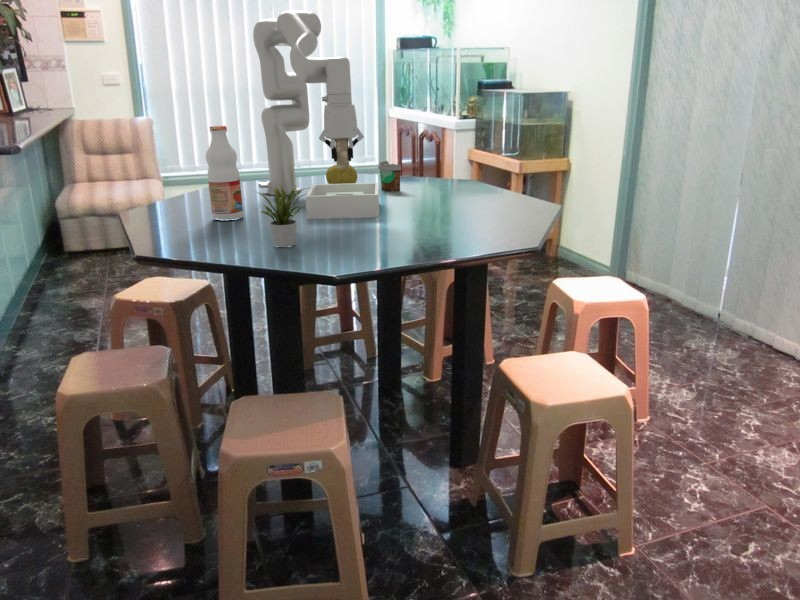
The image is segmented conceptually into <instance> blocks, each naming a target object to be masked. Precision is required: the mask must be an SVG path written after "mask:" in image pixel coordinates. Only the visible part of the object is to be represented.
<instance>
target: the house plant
mask: <svg viewBox="0 0 800 600" xmlns="http://www.w3.org/2000/svg"><path fill="white" fill-rule="evenodd" d="M279 185H280V184H279ZM276 187H277V186H276ZM297 187H298V186H296V187H295V188H293V189H292V190H291V192H290V194H289V195H286V192H285V191H284V190H283V188H282V186H281V185H280V189H281V194H280V191H279V189H278V187H277V188H274V192H275V195H274V197H275V198H274V199H275V201H274V202H275V204H276V205H275V206H274V205H273V204H272V202H271V201H270V200H269V198H268V197H266V196H265V195H264V194H262V193H260V192H258V191H256V193H257V194H259V195H260V196H261V197H263V198H264V200H266V202H267V203H268V204H269V206H270V207H271V208H272V209H271V208H270V207H269V206H267V205H263V207H264V208H265V210H266V211H265V210H264V211H263V210H262V211H261V213H262V214H264V215H267V216H269V217H270V218H271V219H272V220H271V221H270V222H269V228H270V231H271V234H272V238H273V243H274V246H275V245H276V246H279V247H288V246H293V245H295V246H296V240H297V238H296V237H297V228H298V227H297V226H298V220H295V219H293V218H294V217H295V215H296V214H297V213H298V212H299V211H300V210H301V209H304V210H306V209H305V208H306V204H305V205H302V206H301V207H300V206H296V207H294V205H295V204H296V202H297V201H298V200H299V199H300V198H301V197H303V196H306V195H307V193H306V194H301V195H299V196H298V194H300V193H301V192H302V191H304V190H308V189H309V187H307V188H302V189H301V190H300V191H298V192H297V193H295V194H294V192H295V189H296V188H297ZM277 189H278V190H277ZM297 196H298V197H297ZM296 197H297V198H296ZM295 198H296V200H295ZM294 200H295V201H294ZM293 202H294V203H293ZM292 203H293V204H292ZM291 204H292V206H291ZM296 209H298V210H296ZM292 213H293V214H292ZM293 247H294V246H293Z"/></svg>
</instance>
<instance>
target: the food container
mask: <svg viewBox="0 0 800 600" xmlns="http://www.w3.org/2000/svg"><path fill="white" fill-rule="evenodd" d="M377 169H378V170H379V174H380V186H381V191H383V190H384V191H383V192H391V191H394V192H401V170H402V166H401V164H399V163H398V164H395V163H389V160H384V161H380V162H379V163H378V167H377Z"/></svg>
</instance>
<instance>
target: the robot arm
mask: <svg viewBox="0 0 800 600" xmlns="http://www.w3.org/2000/svg"><path fill="white" fill-rule="evenodd" d="M321 32H322V22H321V20H320V18H319V16H318V14H316V13H315V12H314V11H309V10H285V11H282V12H281V13H280V14H279V15H278V17H277V18H267V19H261V20H259V21H257V22H256V23H255V25H254V26H253V34H252V35H253V36H252V37H253V43H254V44H253V45H254V47H255V50H256V53H257V56H258V60H259V65H260V74H261V83H262V92H263V96H264V97H265V99H266V100H267V101H272V102H283V101H286V102H287V101H291V104H290V103H289V104H273V105H268V106H267V107H264V108H263V110H262V112H261V123H262V127H263V130H264V135H265V136H264V137H265V142H266V151H267V162H268V164H267V165H268V171H269V172H268V175H269V180H268V181H266V182H258V188H261V189H266V188H267V190H266V194H267V195H271V196H275V192H274V188H277V187H278V189H279V191H280V194H281V189H280V185H281V186H282V188H283V190H284V191H285V192H286V196H289V194H290V192H291V190H292V189H293V188H295V187H297V188H296V189H295V192H294V195H295V193H297V192H298V191H300V190H302V189H301V188H300V187H298V186H297V182H296V169H295V168H296V167H295V158H294V157H295V156H294V154H295V153H294V144H293V141H292V140H291V138H290V137H289V135H288V134H287V133H288V132H299V131H304V130H306V129H308V127H309V124H310V107H309V106H310V105H309V94H308V86H307V85H308V84H325V87H326V88H325V89H326V90H325V91H326V95H325V96H322V97H321V100H322V102H326V105H324V109H323V110H324V112H323V130H322V132H321V133H320V135H319V138H318V140H319V141H322V142H323V143H325V144H326V146H328V147H329V148H330V149H331V150H330V151H331V159H332V160H333V161H334V163H337V162H336V161H337V160H336V145H335V139H345V138H348V158H349V162H351V161H352V159H354V147H355V146H356V145H357V144H358V143H359V142H360V141H362V140H363V139H364V137H365V136H364V135H363V133H362V131H361V130H360V129H359V127H358V120H357V119H358V118H357V112H356V107H355V104H353V103H352V101H353V100H352V83H351V82H352V81H351V80H352V79H351V63H350V60H349V58H348V57H344V56H343V57H342V56H335V57H334V56H333V57H324V56H323V57H321V56H320V57H317V56H316V57H309V56H311V55H312V54H313V53H314V52H315V51H316V49H317V47H318V37H319V36H320V34H321ZM277 47H290V48H291V49H290V53H289V61H290V66H291V68H292V71H293V72H287V71H286V66H285V58H284V56H283V55H282V53H281V52H280V50H279V49H278V48H277ZM329 139H330V140H329ZM279 184H280V185H279ZM276 186H277V187H276ZM278 189H277V190H278Z"/></svg>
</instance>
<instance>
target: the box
mask: <svg viewBox="0 0 800 600" xmlns="http://www.w3.org/2000/svg"><path fill="white" fill-rule="evenodd" d="M379 188H380V187H379V182H362V183H361V182H360V183H358V182H356V183H352V184H329V183H325V184H324V183H319V184H316V183H315V184H312V186H311V187H309V190H308V191H307V193H306V194H307V195H305V205H306V206H305V208H306V209H305V211H306V220H329V219H330V218H331V219H333V218H334V219H361V218H364V219H365V218H379V217H380V189H379Z"/></svg>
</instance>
